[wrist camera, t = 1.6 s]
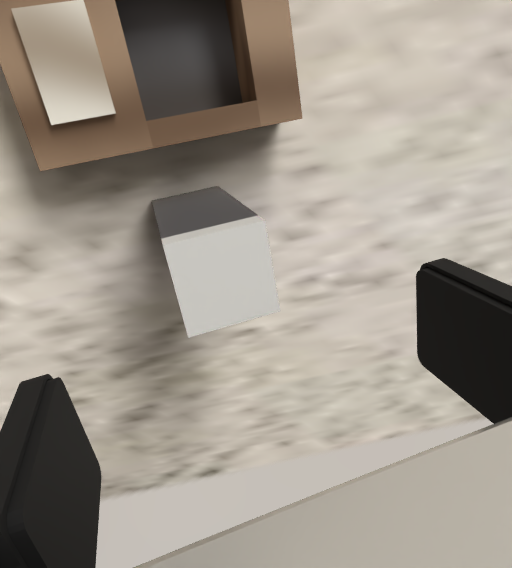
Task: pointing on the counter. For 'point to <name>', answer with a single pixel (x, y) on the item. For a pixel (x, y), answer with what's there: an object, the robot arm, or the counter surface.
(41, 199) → the counter surface
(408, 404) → the counter surface
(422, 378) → the counter surface
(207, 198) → the plug
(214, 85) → the socket block
